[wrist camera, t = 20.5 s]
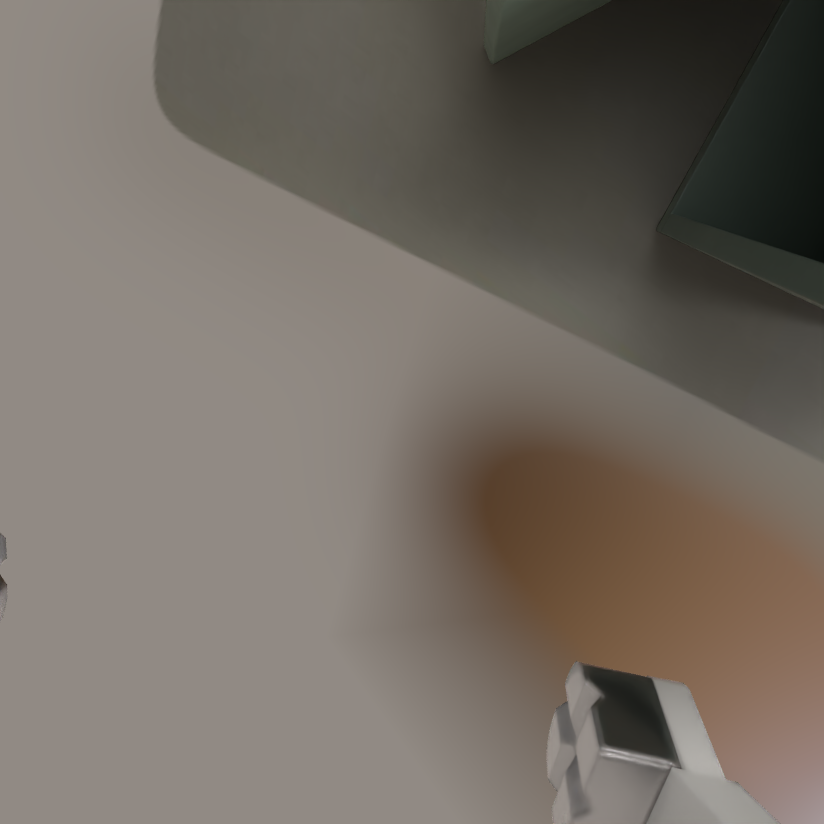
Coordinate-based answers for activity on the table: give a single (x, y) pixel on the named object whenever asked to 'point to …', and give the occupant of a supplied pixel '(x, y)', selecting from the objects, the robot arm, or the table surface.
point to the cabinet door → (528, 22)
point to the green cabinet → (765, 164)
